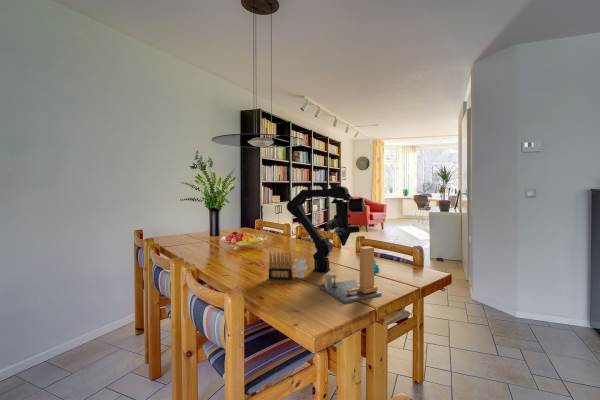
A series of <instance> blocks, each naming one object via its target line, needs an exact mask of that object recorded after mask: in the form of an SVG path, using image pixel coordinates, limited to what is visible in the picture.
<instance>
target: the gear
mask: <svg viewBox="0 0 600 400" xmlns="http://www.w3.org/2000/svg"><path fill="white" fill-rule="evenodd" d="M379 272H380V268H379V265H378V264H377V260H374V273H379Z"/></svg>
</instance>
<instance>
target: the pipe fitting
mask: <svg viewBox="0 0 600 400" xmlns="http://www.w3.org/2000/svg"><path fill="white" fill-rule="evenodd" d="M308 268H309V266H308V265H307V259H306V258H303V257H301V258H295V259H294V265H292V271H293V270H294V271H296V278H297V279H304V278H305V271H307V270H308Z"/></svg>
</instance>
